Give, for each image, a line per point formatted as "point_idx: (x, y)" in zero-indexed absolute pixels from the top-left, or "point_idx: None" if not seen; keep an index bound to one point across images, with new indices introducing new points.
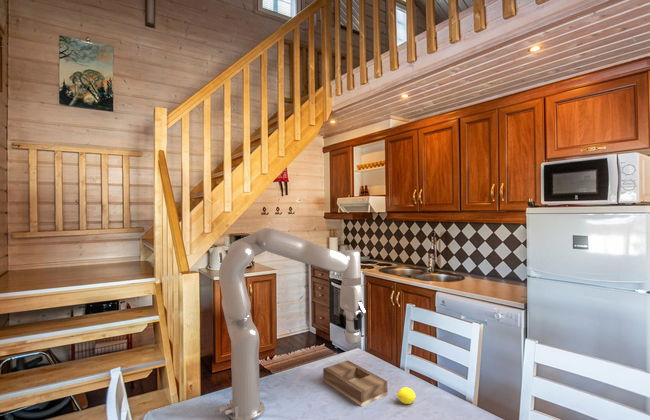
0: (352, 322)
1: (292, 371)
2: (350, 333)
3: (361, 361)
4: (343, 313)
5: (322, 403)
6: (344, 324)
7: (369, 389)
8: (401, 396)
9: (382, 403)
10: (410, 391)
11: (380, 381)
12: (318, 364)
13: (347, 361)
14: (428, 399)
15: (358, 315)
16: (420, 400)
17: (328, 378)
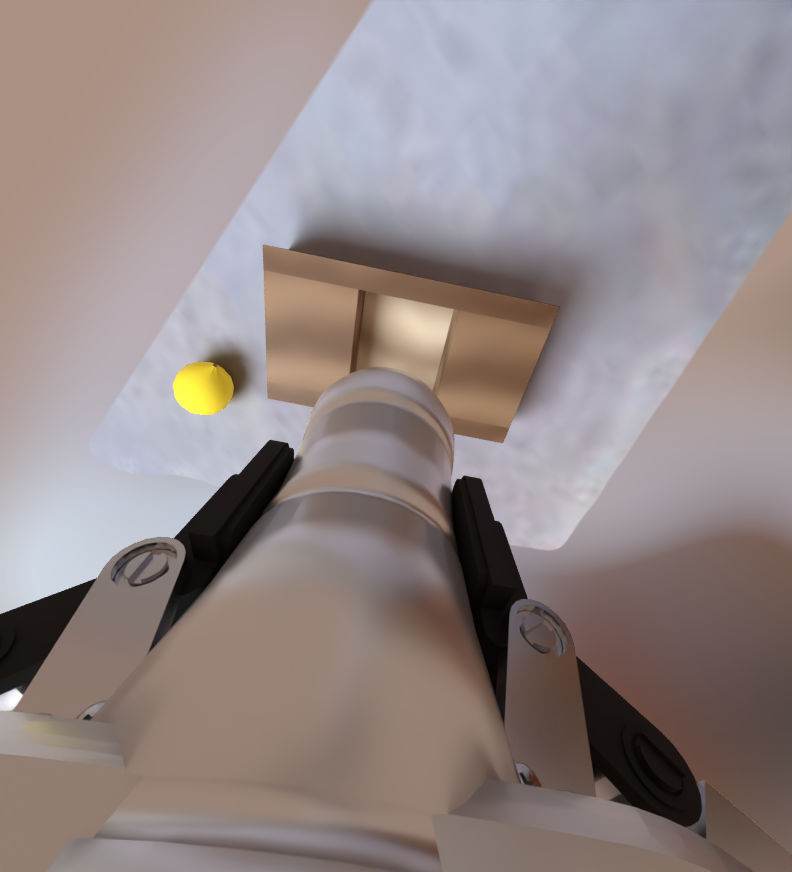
0: (278, 496)
1: (735, 265)
2: (345, 404)
3: (497, 502)
4: (566, 645)
5: (418, 128)
6: (482, 485)
7: (266, 299)
8: (194, 364)
9: (258, 324)
10: (176, 395)
11: (281, 379)
12: (638, 397)
13: (497, 432)
14: (199, 435)
15: (23, 649)
16: (207, 417)
17: (507, 295)
